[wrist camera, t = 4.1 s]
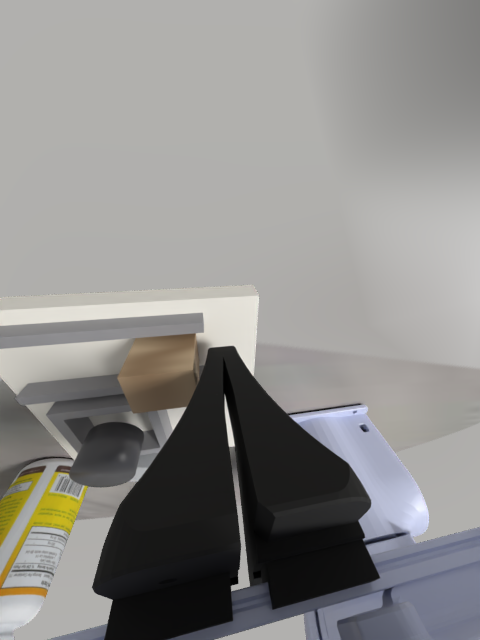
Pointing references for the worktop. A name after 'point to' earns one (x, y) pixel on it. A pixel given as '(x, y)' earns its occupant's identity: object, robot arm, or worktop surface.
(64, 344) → the switch board
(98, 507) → the worktop surface
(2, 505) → the supplement bottle
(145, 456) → the grey rocker switch
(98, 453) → the black push button
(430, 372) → the worktop surface
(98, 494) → the worktop surface
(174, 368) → the tan block
